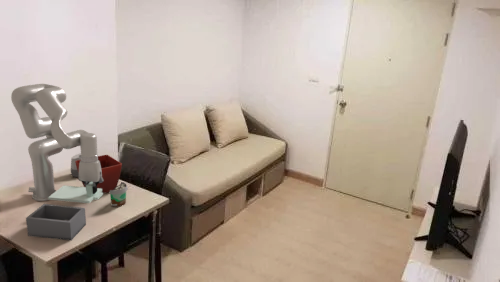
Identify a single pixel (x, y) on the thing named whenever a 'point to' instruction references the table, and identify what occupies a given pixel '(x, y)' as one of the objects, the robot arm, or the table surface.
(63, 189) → the lid
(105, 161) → the plant pot
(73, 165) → the smart speaker
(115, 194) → the food container
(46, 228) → the parts tub
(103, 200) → the table surface
